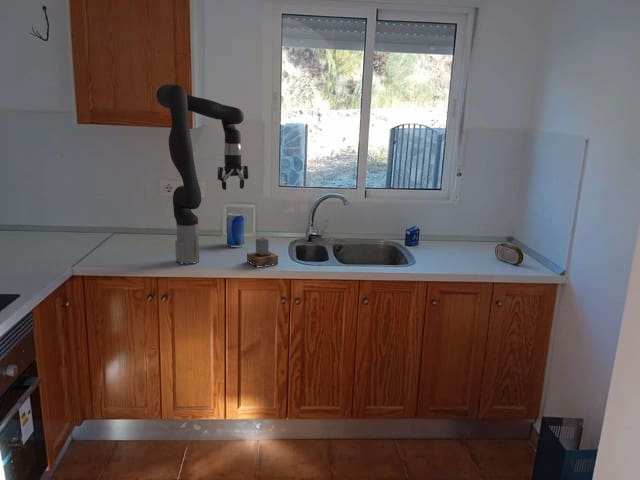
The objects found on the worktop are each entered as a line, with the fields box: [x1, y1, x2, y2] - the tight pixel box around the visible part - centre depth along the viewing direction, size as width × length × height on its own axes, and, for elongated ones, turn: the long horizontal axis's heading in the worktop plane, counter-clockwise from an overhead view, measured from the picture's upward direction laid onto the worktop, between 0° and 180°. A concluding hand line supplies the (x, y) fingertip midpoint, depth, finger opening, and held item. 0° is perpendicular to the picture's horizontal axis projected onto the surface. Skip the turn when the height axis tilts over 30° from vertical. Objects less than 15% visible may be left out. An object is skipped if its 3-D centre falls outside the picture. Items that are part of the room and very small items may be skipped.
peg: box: [255, 237, 269, 257], centre depth 237 cm, size 4×4×11 cm
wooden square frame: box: [246, 250, 279, 266], centre depth 238 cm, size 10×10×4 cm
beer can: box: [226, 212, 245, 247], centre depth 263 cm, size 8×8×16 cm
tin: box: [494, 242, 524, 266], centre depth 251 cm, size 15×3×8 cm, turn 30°
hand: (233, 189), depth 246 cm, fingers open, 8 cm apart
